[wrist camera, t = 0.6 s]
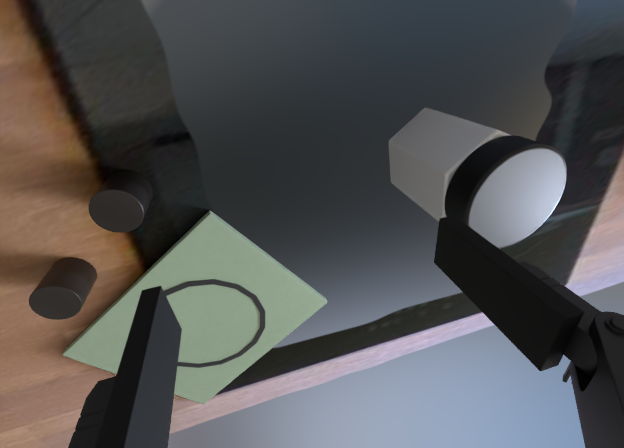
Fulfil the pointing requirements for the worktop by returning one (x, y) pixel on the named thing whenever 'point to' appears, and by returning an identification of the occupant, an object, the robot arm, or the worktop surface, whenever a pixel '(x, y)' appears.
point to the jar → (477, 175)
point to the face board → (208, 308)
